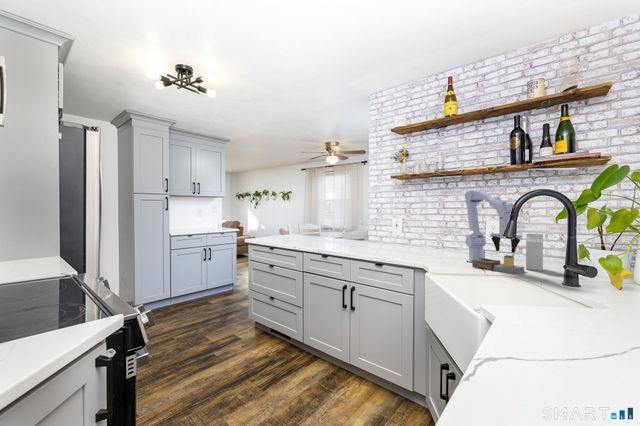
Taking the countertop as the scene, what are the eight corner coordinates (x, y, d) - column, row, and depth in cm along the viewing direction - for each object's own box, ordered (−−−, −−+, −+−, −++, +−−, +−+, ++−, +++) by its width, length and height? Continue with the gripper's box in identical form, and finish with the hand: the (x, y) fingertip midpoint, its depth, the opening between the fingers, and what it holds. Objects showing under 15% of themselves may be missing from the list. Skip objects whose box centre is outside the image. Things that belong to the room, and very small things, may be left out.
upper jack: (481, 265, 168) (481, 258, 168) (500, 267, 159) (500, 260, 159) (472, 266, 162) (472, 259, 162) (490, 270, 154) (490, 262, 154)
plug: (506, 270, 154) (506, 255, 153) (513, 271, 151) (513, 256, 151) (503, 270, 152) (503, 255, 152) (510, 272, 149) (510, 256, 149)
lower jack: (503, 268, 158) (503, 263, 158) (524, 271, 150) (524, 266, 150) (493, 270, 153) (493, 265, 153) (515, 274, 144) (515, 269, 144)
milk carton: (542, 271, 150) (543, 234, 150) (526, 269, 155) (526, 234, 154) (542, 268, 156) (542, 233, 156) (526, 267, 160) (526, 233, 160)
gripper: (487, 225, 157) (487, 250, 157) (517, 227, 145) (517, 254, 145) (494, 225, 161) (493, 249, 161) (523, 226, 149) (523, 253, 149)
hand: (505, 251), depth 154 cm, fingers open, 7 cm apart
